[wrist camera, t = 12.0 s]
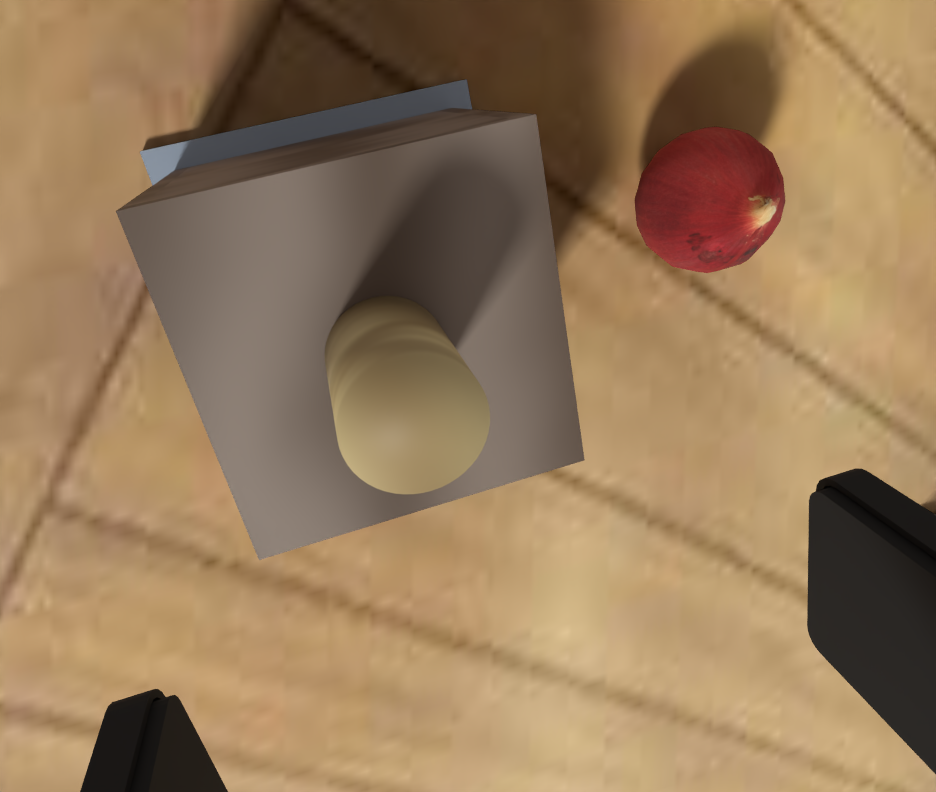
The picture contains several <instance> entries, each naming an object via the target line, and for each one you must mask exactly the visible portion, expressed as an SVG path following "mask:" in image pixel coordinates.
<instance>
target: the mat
mask: <svg viewBox="0 0 936 792" xmlns="http://www.w3.org/2000/svg"><path fill="white" fill-rule="evenodd" d="M448 108H461V109H472V106H471V100H470V95H469V89H468V84H467V79H466V80H460V81H456V82H451V83H447V84H442V85H438V86H433V87H428V88H424V89H419V90H415V91H410V92H406V93H401V94H397V95H392V96H388V97H383V98H379V99H374V100H370V101H365V102H360V103H356V104H351V105H347V106H342V107H338V108H333V109H329V110H324V111H320V112H315V113H311V114H306V115H302V116H297V117H292V118H288V119H283V120H279V121H274V122H270V123H265V124H261V125H256V126H252V127H247V128H243V129H238V130H234V131H229V132H224V133H220V134H215V135H211V136H206V137H202V138H197V139H193V140H188V141H184V142H179V143H175V144H170V145H166V146H161V147H157V148H152V149H147V150H143V151H140V154H141V156H142V159H143V161H144V164H145V167H146V169H147V172H148V174H149V177H150V180H151V182H152V185H154V184H156V183H157V182H158V181H160V180H161V179H163V178H164V177H166V176H167V175H168V174H170V173H171V172H173V171H174V170H178V169H183V168H187V167H191V166H196V165H200V164H205V163H209V162H214V161H218V160H222V159H227V158H231V157H236V156H240V155H245V154H249V153H253V152H258V151H262V150H267V149H271V148H276V147H280V146H285V145H289V144H293V143H298V142H302V141H307V140H311V139H316V138H320V137H324V136H329V135H333V134H338V133H342V132H347V131H351V130H355V129H360V128H364V127H369V126H373V125H378V124H382V123H386V122H391V121H395V120H400V119H404V118H409V117H413V116H417V115H422V114H426V113H431V112H435V111H440V110H444V109H448Z"/></svg>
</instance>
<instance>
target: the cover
mask: <svg viewBox="0 0 936 792" xmlns="http://www.w3.org/2000/svg"><path fill="white" fill-rule="evenodd" d="M116 213H117V215H118V218H119V220H120V222H121V225H122V227H123V230H124V232H125V235H126V237H127V239H128V242H129V244H130V247H131V249H132V252H133V254H134V257H135V259H136V261H137V264H138V266H139V269H140V271H141V274H142V276H143V278H144V281H145V283H146V286H147V288H148V291H149V293H150V295H151V298H152V300H153V303H154V305H155V308H156V310H157V313H158V315H159V317H160V320H161V322H162V325H163V327H164V330H165V332H166V334H167V337H168V339H169V342H170V344H171V347H172V349H173V351H174V354H175V356H176V359H177V361H178V364H179V366H180V368H181V371H182V373H183V376H184V378H185V381H186V383H187V386H188V388H189V390H190V393H191V395H192V398H193V400H194V403H195V405H196V407H197V410H198V412H199V415H200V417H201V420H202V422H203V424H204V427H205V429H206V432H207V434H208V437H209V439H210V442H211V444H212V446H213V449H214V451H215V454H216V456H217V459H218V461H219V463H220V466H221V468H222V471H223V473H224V476H225V478H226V480H227V483H228V485H229V488H230V490H231V493H232V495H233V498H234V500H235V502H236V505H237V507H238V510H239V512H240V515H241V517H242V519H243V522H244V524H245V527H246V529H247V532H248V534H249V536H250V539H251V541H252V544H253V546H254V549H255V551H256V554H257V556H258V558H259V560H261V559H264V558H267V557H270V556H274V555H277V554H280V553H284V552H287V551H290V550H293V549H297V548H300V547H303V546H306V545H310V544H313V543H316V542H319V541H323V540H326V539H329V538H332V537H336V536H339V535H342V534H345V533H349V532H352V531H355V530H358V529H362V528H365V527H368V526H372V525H375V524H378V523H381V522H385V521H388V520H391V519H394V518H398V517H401V516H404V515H407V514H411V513H414V512H417V511H420V510H424V509H427V508H430V507H433V506H437V505H440V504H443V503H446V502H450V501H453V500H456V499H460V498H463V497H466V496H469V495H473V494H476V493H479V492H482V491H486V490H489V489H492V488H495V487H499V486H502V485H505V484H508V483H512V482H515V481H518V480H521V479H525V478H528V477H531V476H534V475H538V474H541V473H544V472H548V471H551V470H554V469H557V468H561V467H564V466H567V465H570V464H574V463H577V462H580V461H583V460H584V454H583V447H582V439H581V432H580V425H579V418H578V411H577V403H576V396H575V389H574V382H573V375H572V368H571V360H570V353H569V346H568V339H567V332H566V325H565V317H564V310H563V303H562V296H561V289H560V282H559V274H558V267H557V260H556V253H555V246H554V239H553V231H552V224H551V217H550V210H549V203H548V196H547V188H546V181H545V174H544V167H543V160H542V153H541V145H540V138H539V131H538V124H537V117H536V114H527V113H514V112H500V111H487V110H474V109H461V108H448V109H444V110H440V111H435V112H431V113H426V114H422V115H417V116H413V117H409V118H404V119H400V120H395V121H391V122H386V123H382V124H378V125H373V126H369V127H364V128H360V129H355V130H351V131H347V132H342V133H338V134H333V135H329V136H324V137H320V138H316V139H311V140H307V141H302V142H298V143H293V144H289V145H285V146H280V147H276V148H271V149H267V150H262V151H258V152H253V153H249V154H245V155H240V156H236V157H231V158H227V159H222V160H218V161H214V162H209V163H205V164H200V165H196V166H191V167H187V168H183V169H178V170H174V171H173V172H171V173H170V174H168V175H167V176H166V177H164V178H163V179H161V180H160V181H158V182H157V183H156V184H154V185H153V186H151V187H150V188H148V189H147V190H146V191H144V192H143V193H141V194H140V195H138V196H137V197H136V198H134V199H133V200H131V201H130V202H128V203H127V204H126V205H124V206H123V207H121V208H120V209H118V210H117V211H116Z"/></svg>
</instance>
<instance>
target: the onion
mask: <svg viewBox="0 0 936 792" xmlns="http://www.w3.org/2000/svg"><path fill="white" fill-rule="evenodd" d="M784 204H785V193H784V182H783V177H782V174H781V172H780V170H779V167H778V165H777V163H776V160H775V158H774V156H773V153H772V152H771V151H769V150H768V149H767V148H766V147H765V146H763V145H762V144H761V143H760V142H758V141H757V140H756V139H754V138H753V137H752V136H750V135H749V134H747V133H744V132H742V131H739V130H733V129H727V128H721V127H708V128H703V129H699V130H695V131H692V132H688V133H685V134H681V135H680V136H678V137H677V138H675V139H674V140H673V141H671V142H670V143H668V144H667V145H666V146H664V147H663V148H661V149H660V150H659V151H658V152H657V153H656V155H655V156H654V157H653V159H652V160H651V162H650V163H649V164H648V166H647V167H646V169H645V170H644V171H643V173H642V174H641V178H640V182H639V186H638V190H637V193H636V196H635V210H636V221H637V226H638V229H639V231H640V233H641V235H642V237H643V239H644V241H645V243H646V245H647V246H648V247H649V248H650V249H651V250H653V251H654V252H655V253H656V254H657V255H659V256H660V257H661V258H662V259H664V260H665V261H666V262H667V263H669V264H670V265H671V266H673V267H677V268H682V269H687V270H691V271H696V272H704V273H710V272H714V271H718V270H722V269H725V268H729V267H732V266H736V265H739V264H742V263H744V262H745V261H747V260H748V259H749V258H750V257H751V256H752V255H753V254H754V253H755V252H756V251H757V250H758V249H759V248H760V247H761V246H762V245H763V244H764V243H765V242H766V241H767V240H768V239H769V237H770V236H771V235H772V233H773V232H774V230H775V228H776V227H777V225H778V224H779V222H780V220H781V216H782V212H783V208H784Z"/></svg>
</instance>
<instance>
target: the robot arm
mask: <svg viewBox="0 0 936 792" xmlns="http://www.w3.org/2000/svg"><path fill="white" fill-rule="evenodd" d="M807 626H808V632H809V635H810V638H811V640H812V642H813V644H814V645H815V647H816V648H817V650H818V651H819V652H820V653H821V654H822V655H823V656H824V657H825V659H826V660H827V661H828V662H829V663H830V664H831V665H832V666H833V667H834V668H835V669H836V670H837V671H838V672H839V673H840V674H841V675H842V676H843V677H844V678H845V680H846V681H847V682H848V683H849V684H850V685H851V686H852V687H853V688H854V689H855V690H856V691H857V692H858V693H859V694H860V695H861V696H862V697H863V698H864V699H865V700H866V702H867V703H868V704H869V705H870V706H871V707H872V708H873V709H874V710H875V711H876V712H877V713H878V714H879V715H880V716H881V717H882V718H883V719H884V720H885V721H886V723H887V724H888V725H889V726H890V727H891V728H892V729H893V730H894V731H895V732H896V733H897V734H898V735H899V736H900V737H901V738H902V739H903V740H904V741H905V742H906V743H907V745H908V746H909V747H910V748H911V749H912V750H913V751H914V752H915V753H916V754H917V755H918V756H919V757H920V758H921V759H922V760H923V761H924V762H925V763H926V764H927V765H928V767H929V768H930V769H931V770H932V771H933V772H934V773H935V774H936V514H933V513H932V512H930V511H929V510H927V509H925V508H924V507H922V506H921V505H919V504H918V503H916V502H914V501H913V500H911V499H910V498H908V497H907V496H905V495H904V494H902V493H900V492H899V491H897V490H896V489H894V488H893V487H891V486H890V485H888V484H886V483H885V482H883V481H882V480H880V479H879V478H877V477H876V476H874V475H872V474H871V473H869V472H868V471H865V470H863V469H853V470H849V471H846V472H843V473H840V474H837V475H834V476H830V477H827V478H824V479H822V480H820V481H819V483H818V484H817V488H816V492H814V493H812V494H811V496H810V499H809V548H808V619H807ZM80 792H228V791H227V789H226V787H225V785H224V783H223V781H222V780H221V778H220V776H219V774H218V772H217V770H216V768H215V766H214V764H213V762H212V760H211V758H210V757H209V755H208V753H207V751H206V749H205V747H204V745H203V743H202V741H201V739H200V737H199V735H198V734H197V732H196V730H195V728H194V726H193V724H192V722H191V720H190V718H189V716H188V714H187V712H186V711H185V709H184V707H183V705H182V703H181V701H180V700H179V698H178V697H177V696H175V695H172V696H169V697H165V696H164V694H163V693H162V692H161V691H160V690H158V689H153V690H150V691H147V692H144V693H141V694H137V695H134V696H131V697H128V698H125V699H122V700H118V701H115V702H112V703H111V704H110V705H109V706H108V708H107V710H106V712H105V715H104V719H103V722H102V725H101V728H100V731H99V734H98V737H97V741H96V744H95V747H94V750H93V753H92V756H91V759H90V763H89V766H88V769H87V772H86V775H85V778H84V781H83V785H82V788H81V791H80Z"/></svg>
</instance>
